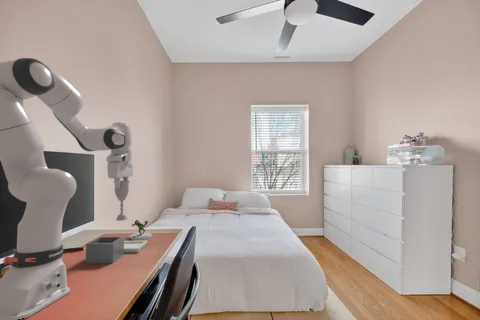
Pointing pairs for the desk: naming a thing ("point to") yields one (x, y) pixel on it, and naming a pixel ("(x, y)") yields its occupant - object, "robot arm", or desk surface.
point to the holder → (104, 250)
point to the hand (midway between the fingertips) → (121, 187)
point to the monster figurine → (140, 235)
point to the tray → (134, 246)
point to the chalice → (122, 197)
